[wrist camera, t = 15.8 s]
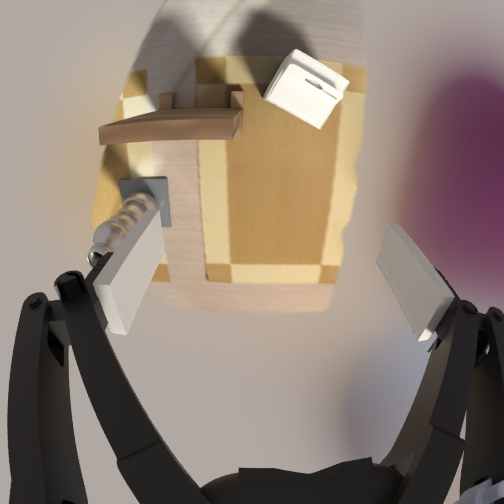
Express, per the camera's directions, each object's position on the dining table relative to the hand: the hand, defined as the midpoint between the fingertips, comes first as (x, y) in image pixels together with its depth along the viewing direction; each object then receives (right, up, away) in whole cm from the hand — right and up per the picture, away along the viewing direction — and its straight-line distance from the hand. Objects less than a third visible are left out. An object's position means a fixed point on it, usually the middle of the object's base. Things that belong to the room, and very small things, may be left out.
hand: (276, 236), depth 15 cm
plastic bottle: (-22, +9, +36) cm, 43 cm away
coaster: (-22, +9, +36) cm, 43 cm away
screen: (-10, +23, +27) cm, 36 cm away
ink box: (+6, +26, +25) cm, 36 cm away
